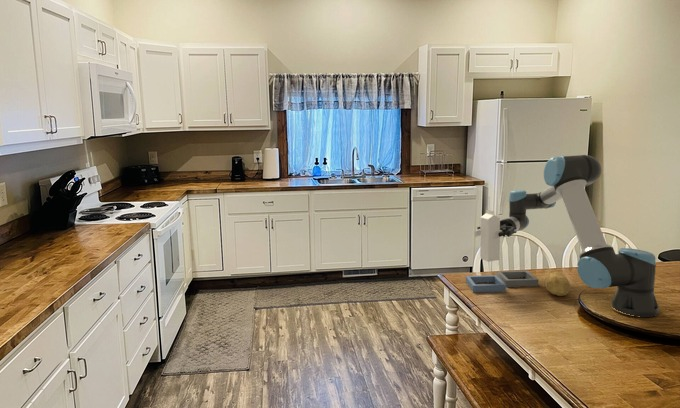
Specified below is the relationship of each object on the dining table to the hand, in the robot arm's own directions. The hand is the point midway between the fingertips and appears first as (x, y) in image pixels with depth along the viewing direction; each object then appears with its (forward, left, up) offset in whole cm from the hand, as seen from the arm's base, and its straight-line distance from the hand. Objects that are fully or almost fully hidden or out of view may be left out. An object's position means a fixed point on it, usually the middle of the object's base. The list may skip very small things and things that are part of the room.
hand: (484, 234), depth 207 cm
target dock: (+2, -1, -24) cm, 24 cm away
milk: (+4, -3, -12) cm, 13 cm away
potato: (-10, -28, -24) cm, 38 cm away
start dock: (+8, -17, -24) cm, 30 cm away
